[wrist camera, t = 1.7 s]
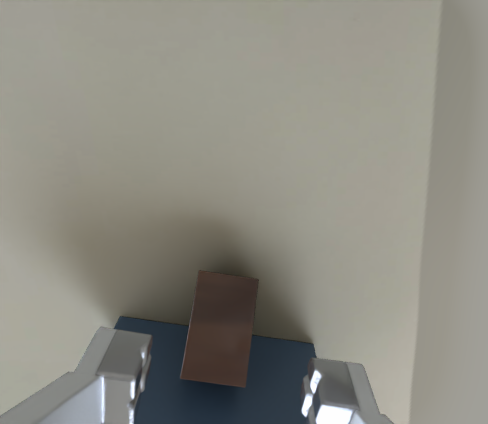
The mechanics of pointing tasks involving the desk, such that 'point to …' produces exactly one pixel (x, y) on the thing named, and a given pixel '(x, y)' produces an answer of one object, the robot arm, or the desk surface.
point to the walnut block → (220, 329)
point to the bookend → (217, 395)
